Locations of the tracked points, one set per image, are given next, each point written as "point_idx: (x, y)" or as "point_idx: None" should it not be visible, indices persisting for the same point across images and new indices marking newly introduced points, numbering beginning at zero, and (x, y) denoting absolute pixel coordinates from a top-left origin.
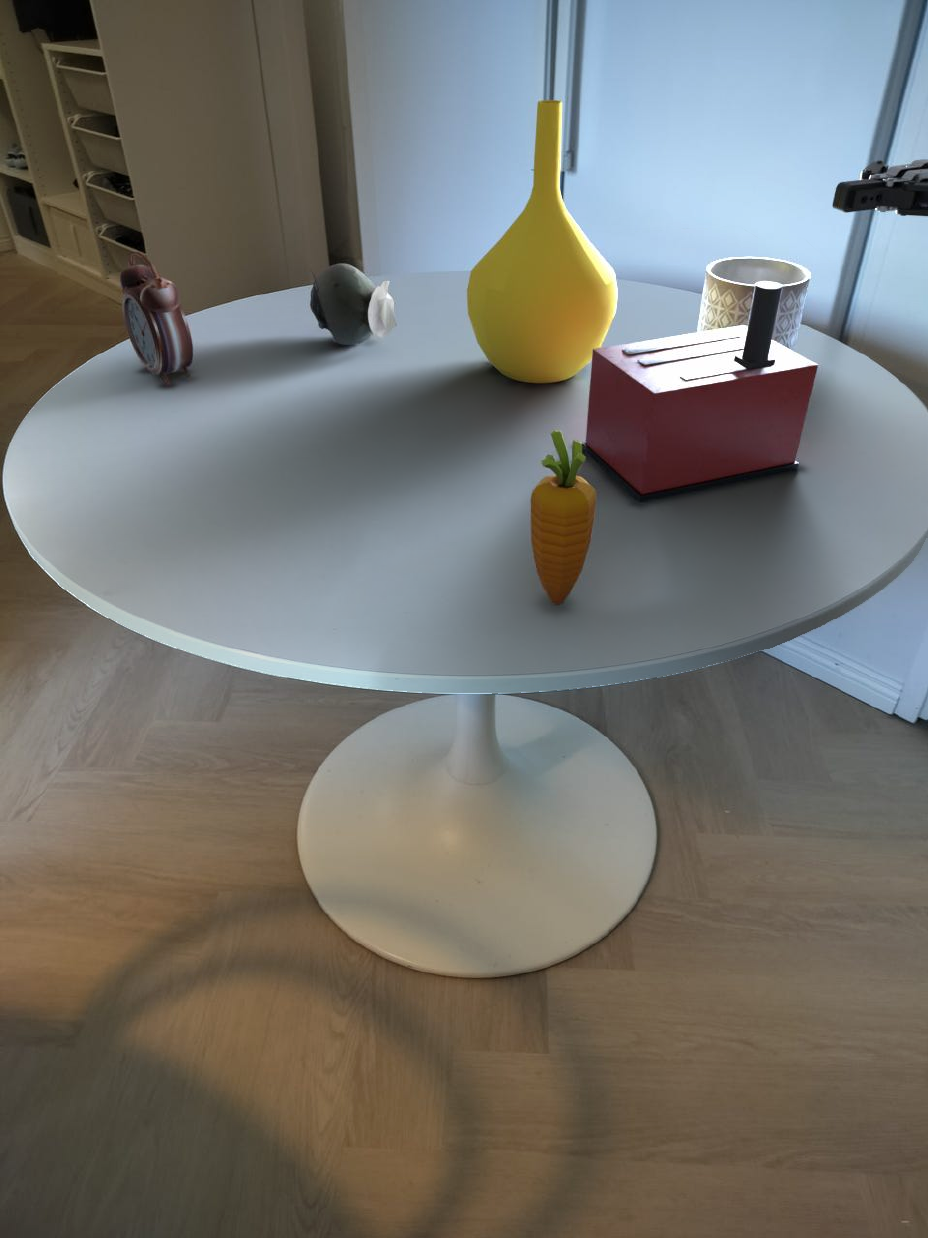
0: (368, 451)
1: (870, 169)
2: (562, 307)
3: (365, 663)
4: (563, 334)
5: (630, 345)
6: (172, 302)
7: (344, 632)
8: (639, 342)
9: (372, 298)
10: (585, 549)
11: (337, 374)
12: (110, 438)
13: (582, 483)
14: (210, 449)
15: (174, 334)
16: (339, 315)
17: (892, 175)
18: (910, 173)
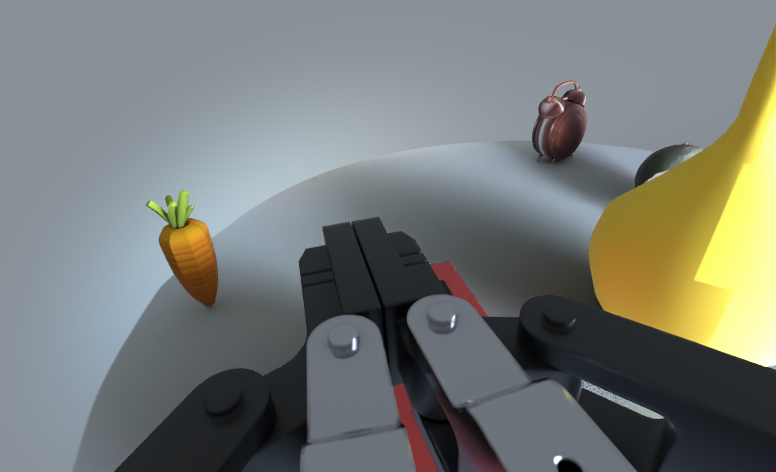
0: (445, 230)
1: (636, 346)
2: (610, 253)
3: (213, 239)
4: (602, 283)
5: (461, 289)
6: (545, 113)
7: (242, 232)
8: (472, 298)
9: (654, 177)
10: (175, 273)
11: (586, 212)
12: (462, 158)
13: (171, 231)
14: (449, 182)
15: (541, 132)
16: (639, 179)
17: (459, 392)
18: (357, 439)
